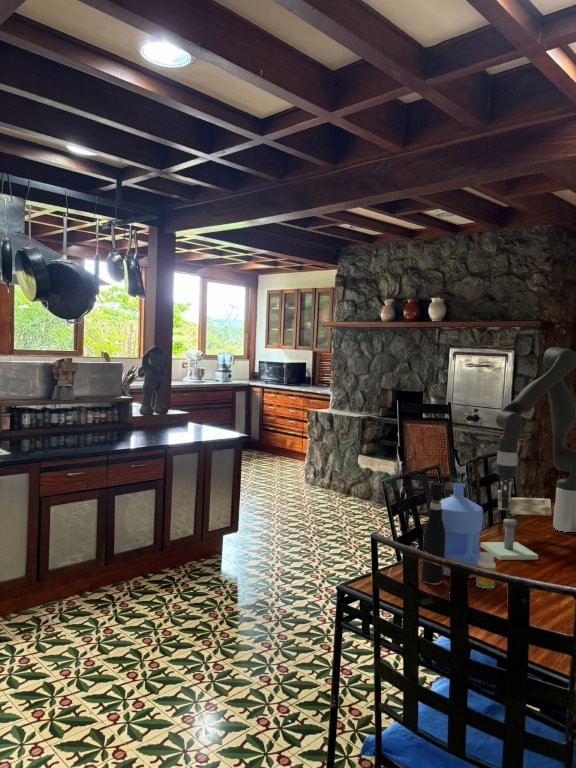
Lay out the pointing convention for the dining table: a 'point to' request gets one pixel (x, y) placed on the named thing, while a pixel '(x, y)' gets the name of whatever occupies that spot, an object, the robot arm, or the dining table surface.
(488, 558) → the supplement bottle
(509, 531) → the post base plate
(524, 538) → the dining table surface
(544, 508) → the birch loop
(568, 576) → the dining table surface
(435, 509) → the wine bottle
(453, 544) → the water jug
